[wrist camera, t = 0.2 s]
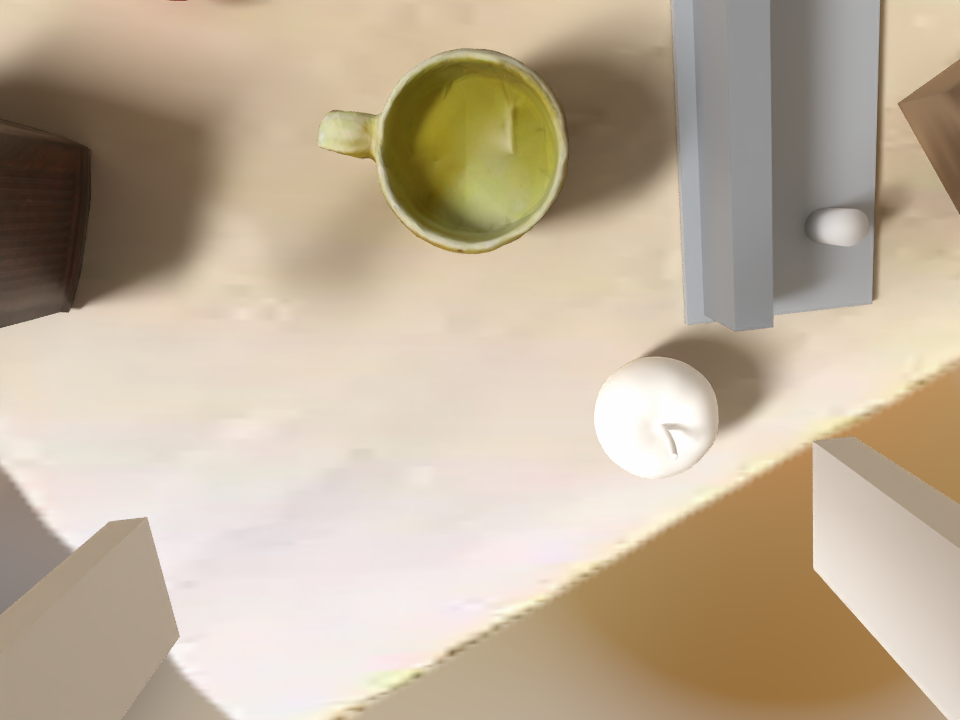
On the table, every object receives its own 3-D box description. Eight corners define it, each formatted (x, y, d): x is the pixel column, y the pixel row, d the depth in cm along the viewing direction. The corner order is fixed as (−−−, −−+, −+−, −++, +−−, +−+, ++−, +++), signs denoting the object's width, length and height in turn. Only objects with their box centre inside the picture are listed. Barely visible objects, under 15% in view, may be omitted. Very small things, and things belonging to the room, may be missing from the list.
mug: (619, 81, 35) (590, 100, 26) (550, 250, 40) (507, 310, 32) (415, -1, 36) (326, -8, 28) (374, 173, 41) (289, 212, 33)
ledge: (664, -144, 34) (698, -210, 28) (877, -175, 33) (954, -247, 28) (684, 323, 40) (716, 342, 34) (866, 302, 39) (927, 318, 34)
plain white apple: (575, 441, 42) (595, 496, 34) (597, 334, 40) (624, 368, 32) (680, 457, 42) (725, 516, 34) (707, 352, 40) (761, 390, 32)
